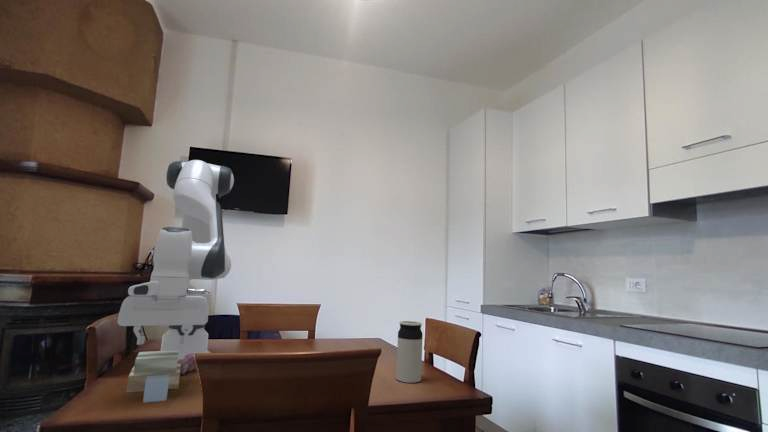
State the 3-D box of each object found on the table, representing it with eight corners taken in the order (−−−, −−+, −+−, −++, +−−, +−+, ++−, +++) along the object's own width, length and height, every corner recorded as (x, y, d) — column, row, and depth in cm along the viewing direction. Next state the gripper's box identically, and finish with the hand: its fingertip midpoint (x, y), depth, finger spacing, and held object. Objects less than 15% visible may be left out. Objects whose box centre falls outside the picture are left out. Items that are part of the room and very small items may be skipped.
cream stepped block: (131, 380, 112) (135, 351, 113) (179, 377, 117) (182, 349, 118) (126, 392, 101) (130, 360, 102) (178, 388, 106) (181, 357, 107)
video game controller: (175, 382, 117) (186, 361, 117) (164, 373, 118) (175, 353, 119) (196, 374, 127) (207, 355, 127) (186, 366, 128) (197, 347, 128)
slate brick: (144, 396, 99) (147, 376, 100) (167, 394, 101) (169, 374, 102) (142, 402, 95) (145, 381, 95) (166, 400, 97) (168, 379, 97)
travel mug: (412, 385, 120) (414, 324, 123) (391, 379, 125) (393, 321, 127) (425, 380, 126) (427, 322, 129) (405, 375, 131) (407, 320, 134)
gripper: (211, 288, 109) (206, 340, 107) (124, 286, 100) (116, 343, 98) (212, 289, 103) (207, 344, 101) (121, 287, 94) (112, 347, 92)
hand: (161, 343), depth 99 cm, fingers open, 8 cm apart
